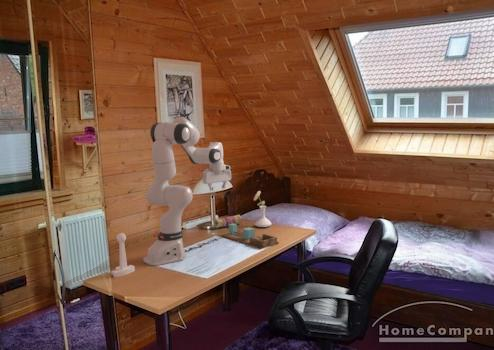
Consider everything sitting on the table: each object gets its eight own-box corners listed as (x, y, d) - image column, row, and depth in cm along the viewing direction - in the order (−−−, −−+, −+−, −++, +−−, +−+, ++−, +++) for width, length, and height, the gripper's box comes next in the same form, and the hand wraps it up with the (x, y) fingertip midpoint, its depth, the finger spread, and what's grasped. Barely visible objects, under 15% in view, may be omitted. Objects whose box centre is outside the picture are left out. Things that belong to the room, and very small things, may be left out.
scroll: (219, 228, 274) (244, 223, 286) (216, 217, 276) (241, 213, 287) (214, 231, 280) (238, 226, 292) (211, 220, 282) (235, 215, 293)
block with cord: (248, 240, 248) (248, 230, 247) (228, 234, 262) (228, 224, 261) (254, 238, 251) (254, 228, 250) (234, 232, 265) (234, 223, 264)
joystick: (116, 277, 196) (113, 236, 194) (107, 274, 201) (104, 234, 199) (136, 271, 204) (133, 231, 202) (127, 267, 209) (125, 229, 207)
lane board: (261, 249, 233) (260, 242, 233) (221, 236, 260) (221, 230, 260) (278, 243, 242) (278, 237, 242) (238, 232, 269) (238, 226, 269)
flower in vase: (263, 223, 290) (262, 188, 287) (275, 226, 282) (274, 189, 278) (249, 227, 281) (248, 190, 278) (261, 230, 273) (260, 192, 270)
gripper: (206, 169, 250) (207, 192, 252) (232, 166, 264) (233, 187, 265) (200, 168, 255) (201, 191, 257) (226, 165, 268) (227, 186, 270)
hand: (217, 189), depth 261 cm, fingers open, 8 cm apart
